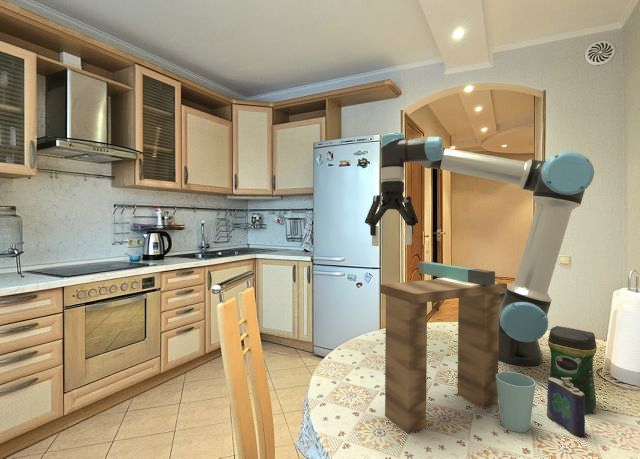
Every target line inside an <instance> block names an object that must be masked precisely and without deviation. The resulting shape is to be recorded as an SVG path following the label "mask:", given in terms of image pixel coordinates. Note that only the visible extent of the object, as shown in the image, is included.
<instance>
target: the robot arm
mask: <svg viewBox="0 0 640 459" xmlns="http://www.w3.org/2000/svg"><path fill="white" fill-rule="evenodd" d="M405 163H418V164H419V165H420V166H421V167H423V168H426V169H435V170H442V171H447V172H451V173H455V174H456V173H457V174H462V175H466V176H471V177H475V178H476V177H477V178H482V179H487V180H492V181H497V182H501V183H505V184H506V183H507V184H512V185H515V186H516V185H517V186H519V188H520V189H521V190H526V191H531V192H533V196H532V199H533V200H534V202H535V203H536V206H535V210H534V213H533V217H532V221H531V224H530V228H529V231H528V233H527V236H526V240H525V241H526V242H525V244H524V248H523V252H522V254H521V258H520V262H519V265H518V268H517V272H516V275H515V279H514V282H513V283H512V284H510V285H507V292H501V293H499V359H498V361H500V362H503V363H506V364H510V365H515V366H525V367H528V366H529V367H530V366H531V367H532V366H533V367H534V366H537V365H541V364H542V363H543V353H542V350H541V346H540V343H539V341H538V340H540V339H541V338H543V337H544V335H545V334H546V333H547V331H548V328H549V319H548V318H549V317H548V313H549V311H550V307H551V304H552V298H551V297H550V295H549V293H548V292H549V288H550V285H551V282H552V278H553V275H554V271H555V268H556V265H557V261H558V258H559V254H560V251H561V248H562V244H563V243H564V242H563V241H564V238H565V234H566V230H567V228H568V224H569V221H570V217H571V214H572V211H574V210H575V209H577V208H578V207H580V206H581V204H582V202H583V198H584V195H585V191H586V189H588V188H589V186H590V185H591V183H592V182H593V179H594V177H595V168H594V165H593V163H592V162H591V160H590V159H589V158H588V157H587V156H585V155H584V154H582V153H580V152H575V151H563V152H559V153H555V154H554V155H552V156H550V157H549V158H547V159H546V160H538V159H532V158H531V159H528V160H526V161H523V160H519V159H512V158H506V157H499V156H495V155H489V154H482V153H478V152H477V153H476V152H472V151H471V152H470V151H467V150H466V151H465V150H460V149H453V148H449V147H444V143H443V138H442V137H441V136H431V135H430V136H428V137H427V136H425V137H417V138H405V134H404V133H403V132H389V133H385V134H383V135H382V136H381V145H380V165H381V166H380V168H381V169H380V180H381V182H380V193H381V195H380V194H376V195H373V198H372V202H371V206H370V208H369V210H368V213H367V215H366V218H365V219H364V223H365V224H367V225H368V226H369V230H370V231H369V234H370V236H371V246H372V247H380V244H379V242H380V239H379V237H380V236H379V235H380V234H379V233H380V232H379V230H380V226H379V225H378V223H380V220H381V219H382V217H383V216H384V215H385V213H386V212H387V211H388V210H396V211H397V213H399V214H400V216H401V218H402V219H403V220H404V222H405V223H406V225H404V245H405V246H406V245H408V246H412V245H413V244H412V243H413V235H414V226H416V224H418V223H419V219H418V216H417V214H416V212H415V209H414V207H413V204H412V197H411V196H410V195H407V196H404V193H405V182H404V180H405ZM380 204H381V205H380Z"/></svg>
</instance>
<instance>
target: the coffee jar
mask: <svg viewBox="0 0 640 459" xmlns="http://www.w3.org/2000/svg"><path fill="white" fill-rule="evenodd" d="M548 334H549V335H548V340H547V343H548V344H547V346H548V347H549V350H550V351H549V352H550V368H549V369H550V371H549V377H548V378H550V377H553V378H556V379H559V380H561V381H563V380H562V379H561V377H563V378H567V377H569V378H572V379H570V382H571V383H572V384H573V385H574V386H573V387H575V388H577V389H579V390H580V391H581V392H582V393H584V395H585V413H591V412H593V411H594V410H596V408H597V397H596V387H595V381H594V380H595V379H594V366H593V365H594V357H595V356H596V355H595V354H596V353H597V349H598V348H597V341H596V336H595V333H594V332H592V331H586V330H581V329H576V328H572V327H571V328H570V327H565V326H560V325H556V326H554V327H551V328H550V330H549V333H548Z"/></svg>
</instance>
